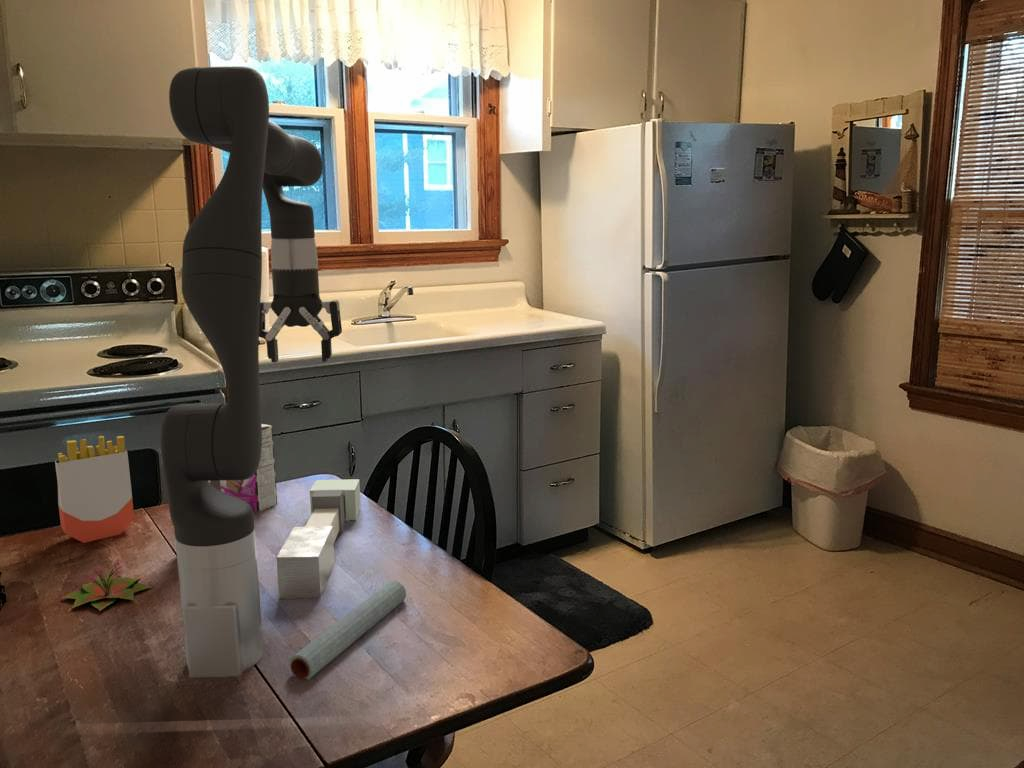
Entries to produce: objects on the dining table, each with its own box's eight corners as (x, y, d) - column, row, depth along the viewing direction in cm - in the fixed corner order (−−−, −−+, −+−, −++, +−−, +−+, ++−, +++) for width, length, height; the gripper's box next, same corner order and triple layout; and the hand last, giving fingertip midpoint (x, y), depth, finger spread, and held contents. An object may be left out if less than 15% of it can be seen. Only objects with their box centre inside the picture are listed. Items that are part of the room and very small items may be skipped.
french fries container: (62, 539, 144) (49, 438, 140) (129, 525, 150) (119, 428, 146) (67, 547, 140) (55, 444, 136) (135, 532, 147) (125, 433, 143)
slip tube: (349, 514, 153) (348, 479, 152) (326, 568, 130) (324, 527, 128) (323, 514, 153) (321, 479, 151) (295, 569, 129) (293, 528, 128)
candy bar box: (218, 504, 160) (212, 422, 157) (239, 497, 164) (233, 416, 161) (258, 515, 154) (252, 430, 151) (279, 507, 159) (273, 424, 155)
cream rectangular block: (334, 563, 133) (332, 525, 132) (320, 597, 121) (318, 556, 120) (296, 564, 133) (294, 526, 131) (279, 598, 121) (276, 557, 120)
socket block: (360, 511, 156) (359, 479, 155) (356, 523, 150) (354, 489, 149) (317, 512, 156) (316, 480, 154) (311, 524, 150) (309, 490, 148)
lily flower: (44, 603, 121) (40, 574, 120) (117, 573, 131) (114, 545, 130) (97, 622, 115) (94, 592, 114) (169, 589, 126) (166, 560, 125)
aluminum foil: (312, 684, 100) (310, 658, 99) (267, 673, 102) (265, 648, 101) (407, 604, 120) (406, 582, 119) (367, 596, 123) (366, 574, 122)
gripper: (245, 267, 135) (252, 366, 138) (333, 267, 136) (338, 364, 139) (257, 265, 142) (263, 358, 146) (341, 264, 143) (345, 357, 146)
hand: (300, 361), depth 142 cm, fingers open, 8 cm apart
